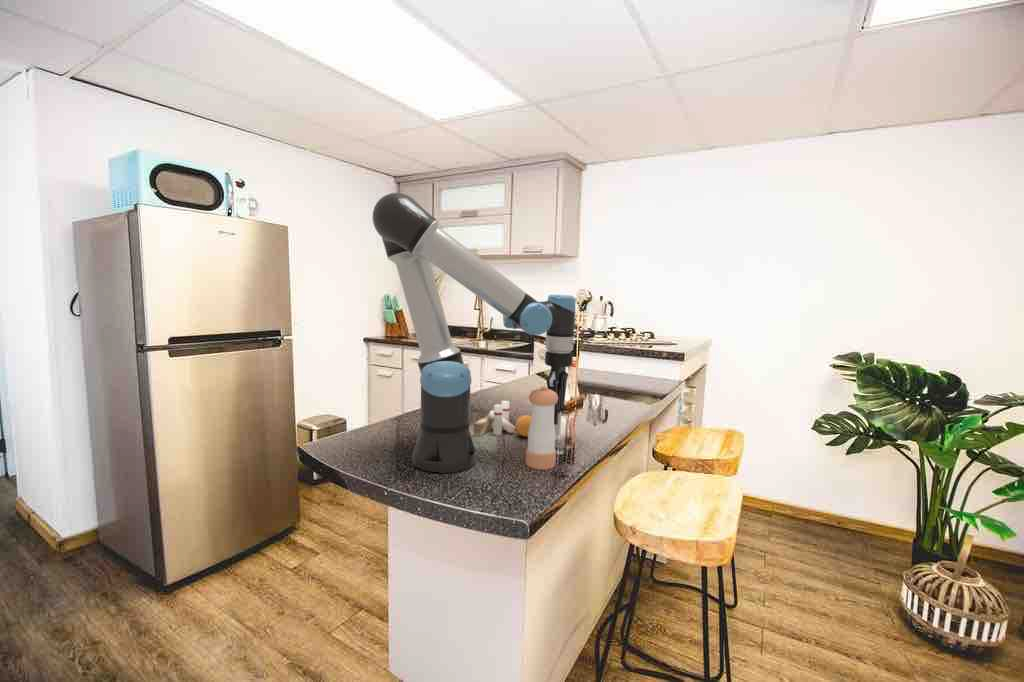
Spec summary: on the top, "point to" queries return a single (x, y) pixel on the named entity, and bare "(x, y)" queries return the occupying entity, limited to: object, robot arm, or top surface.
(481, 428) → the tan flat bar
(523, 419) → the ball
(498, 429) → the pin
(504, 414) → the pin
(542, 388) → the salt shaker
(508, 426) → the front pin
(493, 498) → the top surface
